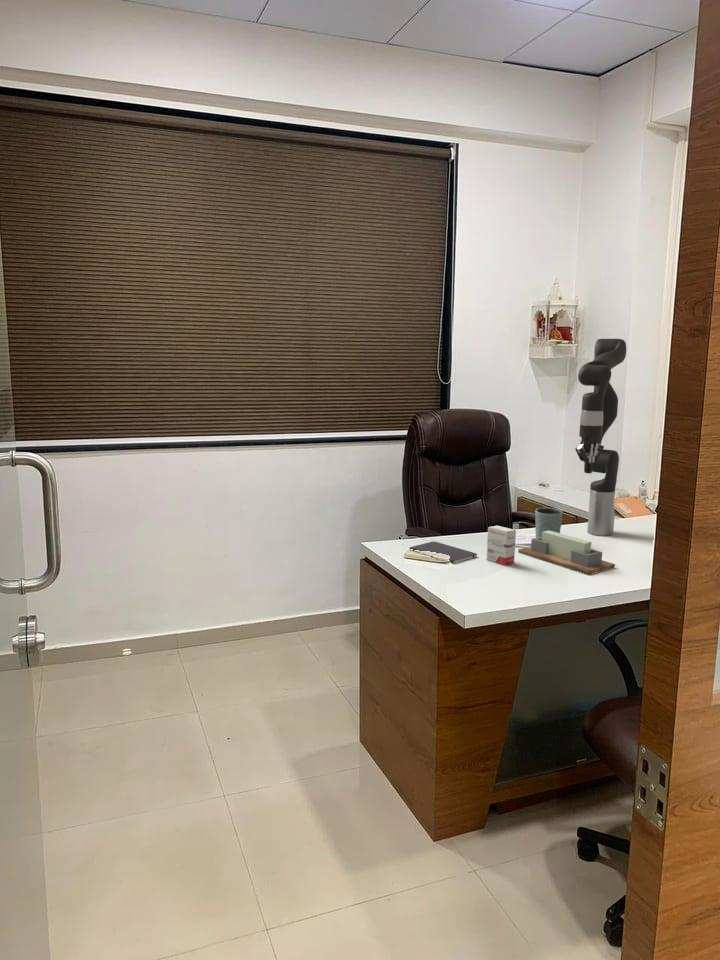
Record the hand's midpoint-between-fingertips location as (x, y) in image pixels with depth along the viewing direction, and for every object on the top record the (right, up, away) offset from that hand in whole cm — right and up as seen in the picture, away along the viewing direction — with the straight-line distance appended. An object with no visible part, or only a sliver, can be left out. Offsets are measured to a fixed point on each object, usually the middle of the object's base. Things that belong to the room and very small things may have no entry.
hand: (588, 472), depth 245 cm
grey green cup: (-9, -26, +20) cm, 34 cm away
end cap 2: (-4, -30, -10) cm, 32 cm away
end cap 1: (-14, -27, +4) cm, 31 cm away
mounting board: (-9, -30, -3) cm, 31 cm away
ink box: (-32, -31, -5) cm, 44 cm away
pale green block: (-9, -29, -3) cm, 30 cm away
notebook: (-50, -29, +4) cm, 58 cm away
